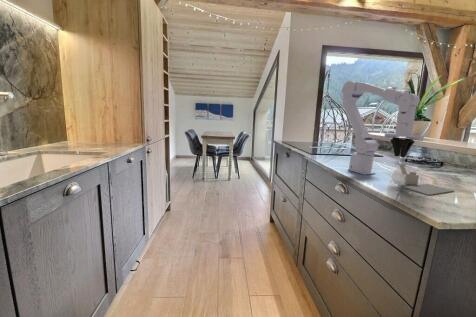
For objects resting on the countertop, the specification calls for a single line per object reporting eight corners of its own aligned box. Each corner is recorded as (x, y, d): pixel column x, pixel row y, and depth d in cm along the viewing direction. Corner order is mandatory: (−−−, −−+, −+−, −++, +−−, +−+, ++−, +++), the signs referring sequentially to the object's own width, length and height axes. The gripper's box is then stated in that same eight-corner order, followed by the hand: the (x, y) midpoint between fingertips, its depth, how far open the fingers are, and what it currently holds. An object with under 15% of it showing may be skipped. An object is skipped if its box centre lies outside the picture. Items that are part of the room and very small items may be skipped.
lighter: (415, 184, 98) (419, 165, 96) (417, 185, 96) (421, 166, 95) (395, 181, 100) (399, 163, 99) (396, 182, 99) (400, 163, 97)
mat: (402, 187, 92) (402, 186, 92) (427, 184, 98) (427, 183, 98) (428, 195, 84) (428, 194, 84) (453, 191, 90) (454, 190, 90)
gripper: (430, 124, 93) (424, 159, 95) (393, 123, 106) (389, 153, 108) (419, 124, 90) (413, 159, 92) (383, 122, 103) (378, 154, 105)
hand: (399, 156), depth 100 cm, fingers closed
